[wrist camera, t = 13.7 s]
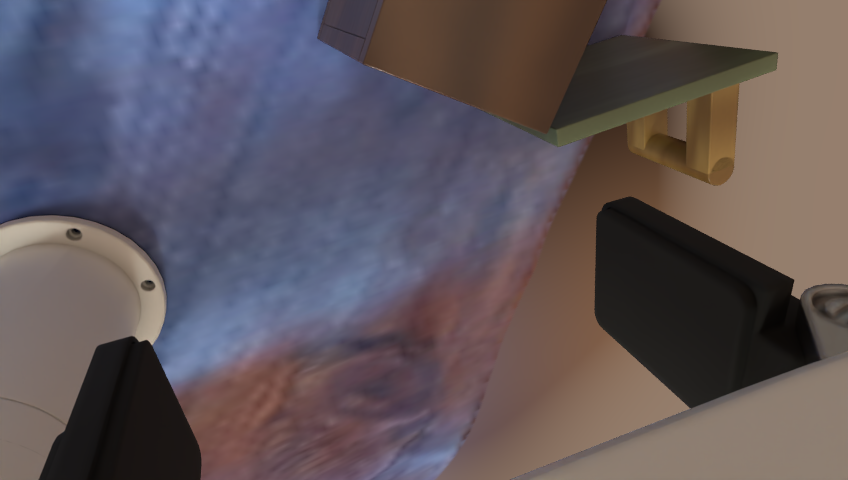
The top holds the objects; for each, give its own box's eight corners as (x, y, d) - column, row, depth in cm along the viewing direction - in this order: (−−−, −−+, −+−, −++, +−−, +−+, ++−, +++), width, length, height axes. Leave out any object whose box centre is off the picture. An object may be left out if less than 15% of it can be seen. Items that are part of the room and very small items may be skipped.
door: (625, 131, 45) (766, 182, 33) (476, 185, 42) (570, 260, 31) (621, 34, 41) (778, 52, 29) (457, 87, 39) (556, 129, 27)
